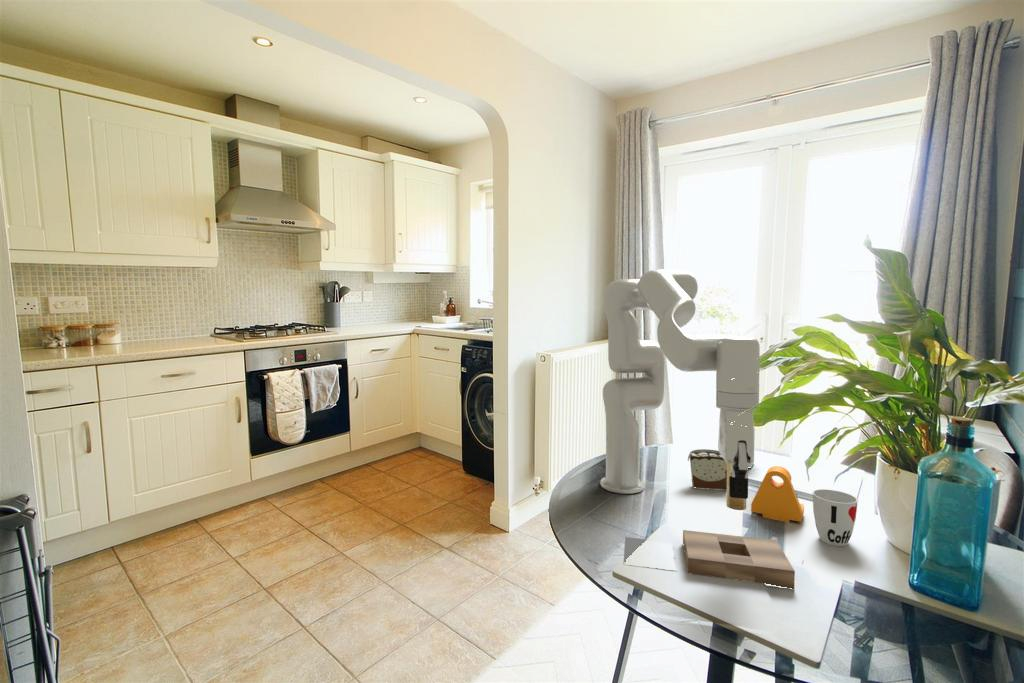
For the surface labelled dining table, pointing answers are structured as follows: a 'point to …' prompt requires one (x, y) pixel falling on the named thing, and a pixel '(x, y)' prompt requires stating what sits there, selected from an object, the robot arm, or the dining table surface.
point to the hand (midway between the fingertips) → (736, 492)
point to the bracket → (777, 497)
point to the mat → (632, 546)
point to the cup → (834, 515)
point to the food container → (707, 469)
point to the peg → (730, 502)
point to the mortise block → (737, 558)
